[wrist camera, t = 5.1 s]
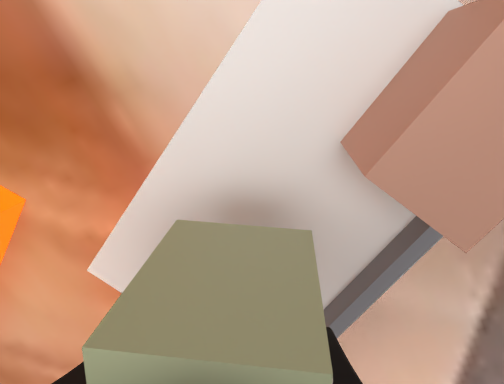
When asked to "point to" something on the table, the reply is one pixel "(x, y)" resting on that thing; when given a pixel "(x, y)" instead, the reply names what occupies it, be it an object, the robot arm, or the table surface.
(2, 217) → the orange juice
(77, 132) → the table surface
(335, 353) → the robot arm
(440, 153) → the tea box rust
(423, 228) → the shelf board
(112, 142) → the table surface
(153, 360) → the tea box olive
